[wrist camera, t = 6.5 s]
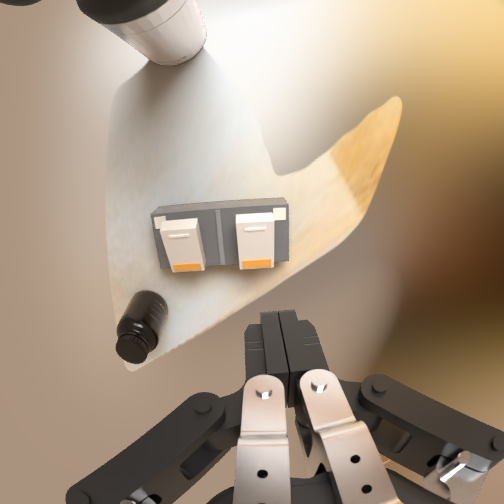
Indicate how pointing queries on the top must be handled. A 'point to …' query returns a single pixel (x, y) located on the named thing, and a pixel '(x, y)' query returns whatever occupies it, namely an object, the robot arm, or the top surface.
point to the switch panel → (224, 227)
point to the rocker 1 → (183, 245)
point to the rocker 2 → (255, 240)
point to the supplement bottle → (141, 326)
